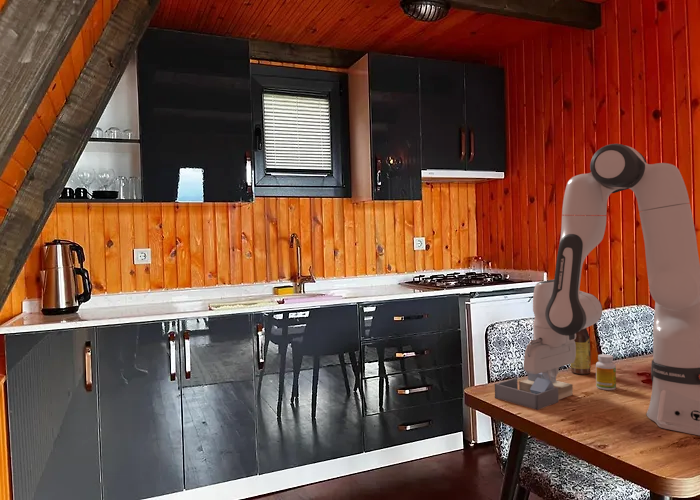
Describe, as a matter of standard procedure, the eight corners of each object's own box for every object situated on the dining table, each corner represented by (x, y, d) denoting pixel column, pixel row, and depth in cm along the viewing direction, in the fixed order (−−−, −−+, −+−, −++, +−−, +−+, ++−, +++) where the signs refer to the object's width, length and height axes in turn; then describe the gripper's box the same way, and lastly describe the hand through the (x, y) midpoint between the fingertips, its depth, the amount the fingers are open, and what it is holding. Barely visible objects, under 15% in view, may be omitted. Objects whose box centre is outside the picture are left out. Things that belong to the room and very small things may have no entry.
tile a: (554, 386, 151) (551, 380, 150) (546, 398, 149) (543, 392, 148) (540, 383, 155) (537, 377, 154) (532, 395, 153) (529, 389, 152)
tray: (558, 401, 149) (558, 387, 149) (537, 409, 143) (537, 395, 143) (515, 390, 160) (515, 377, 160) (494, 397, 154) (494, 384, 154)
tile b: (550, 379, 160) (549, 371, 160) (541, 382, 157) (541, 374, 157) (536, 376, 164) (536, 368, 163) (527, 379, 161) (527, 371, 161)
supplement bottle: (617, 391, 157) (616, 358, 157) (597, 389, 159) (596, 357, 158) (614, 385, 162) (614, 353, 162) (595, 384, 164) (594, 353, 163)
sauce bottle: (594, 374, 174) (593, 314, 173) (574, 375, 174) (573, 314, 174) (585, 369, 181) (584, 311, 180) (567, 370, 181) (566, 311, 180)
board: (572, 394, 155) (572, 384, 155) (555, 400, 150) (555, 390, 150) (536, 385, 165) (536, 375, 165) (519, 391, 160) (519, 381, 160)
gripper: (537, 343, 145) (538, 393, 145) (579, 332, 157) (580, 379, 157) (517, 339, 150) (518, 388, 150) (560, 329, 162) (560, 374, 162)
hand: (550, 383), depth 154 cm, fingers closed
